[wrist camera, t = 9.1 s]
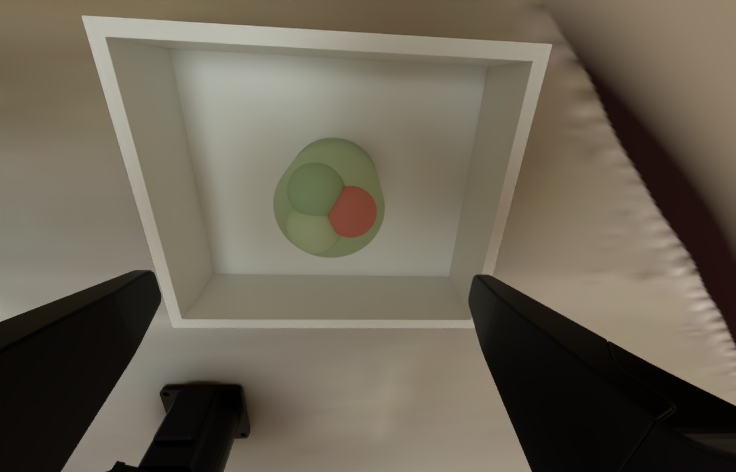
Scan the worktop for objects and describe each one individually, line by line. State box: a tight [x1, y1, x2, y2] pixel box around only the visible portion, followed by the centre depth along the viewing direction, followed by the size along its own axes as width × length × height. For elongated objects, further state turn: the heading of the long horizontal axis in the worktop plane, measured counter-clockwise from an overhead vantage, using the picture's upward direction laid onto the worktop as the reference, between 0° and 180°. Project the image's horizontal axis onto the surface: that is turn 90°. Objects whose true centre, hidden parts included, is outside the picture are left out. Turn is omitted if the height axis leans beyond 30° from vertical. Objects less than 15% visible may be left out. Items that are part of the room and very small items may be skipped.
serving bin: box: [82, 16, 552, 328], centre depth 17 cm, size 14×17×5 cm
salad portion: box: [273, 138, 385, 258], centre depth 16 cm, size 5×5×6 cm
